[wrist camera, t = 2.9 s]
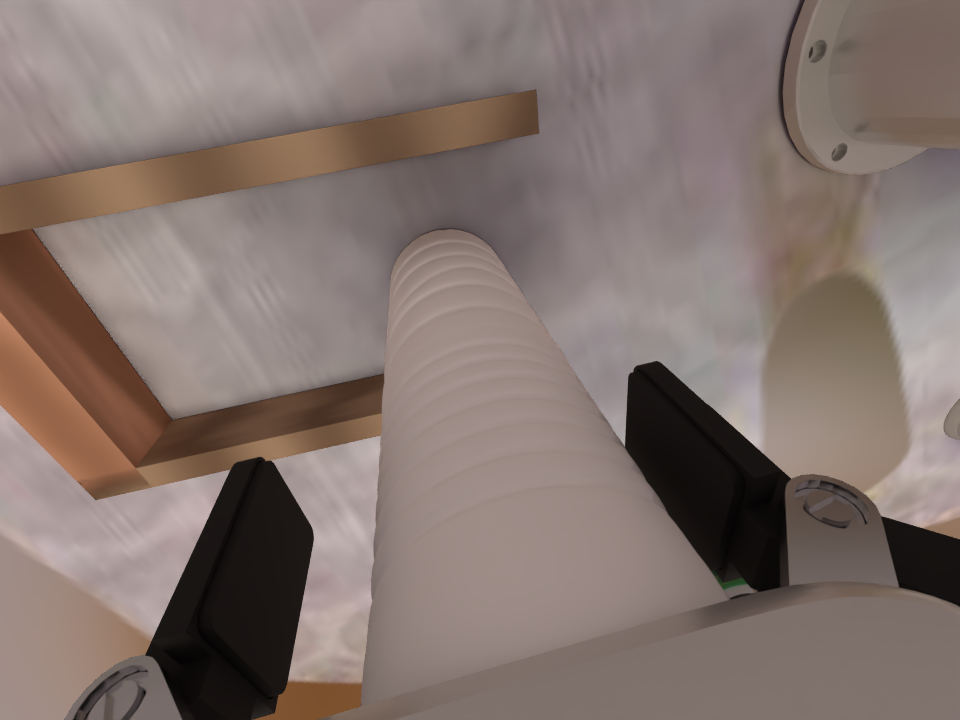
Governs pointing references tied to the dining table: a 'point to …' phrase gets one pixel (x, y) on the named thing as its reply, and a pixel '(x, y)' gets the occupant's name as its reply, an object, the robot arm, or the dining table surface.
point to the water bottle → (501, 488)
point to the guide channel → (103, 367)
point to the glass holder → (953, 422)
